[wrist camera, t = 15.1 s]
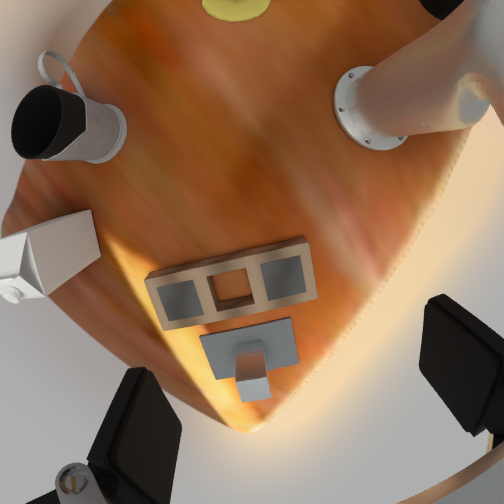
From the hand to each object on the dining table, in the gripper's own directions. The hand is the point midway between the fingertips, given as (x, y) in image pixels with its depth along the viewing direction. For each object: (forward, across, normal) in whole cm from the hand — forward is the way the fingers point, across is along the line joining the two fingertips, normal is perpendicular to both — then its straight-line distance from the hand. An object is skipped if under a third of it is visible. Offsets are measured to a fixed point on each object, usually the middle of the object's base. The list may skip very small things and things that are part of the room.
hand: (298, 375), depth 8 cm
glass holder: (+31, +18, -20) cm, 41 cm away
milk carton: (+31, +26, -4) cm, 40 cm away
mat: (+30, +5, +20) cm, 37 cm away
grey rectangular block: (+30, +5, +20) cm, 36 cm away
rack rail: (+30, +5, +8) cm, 32 cm away
